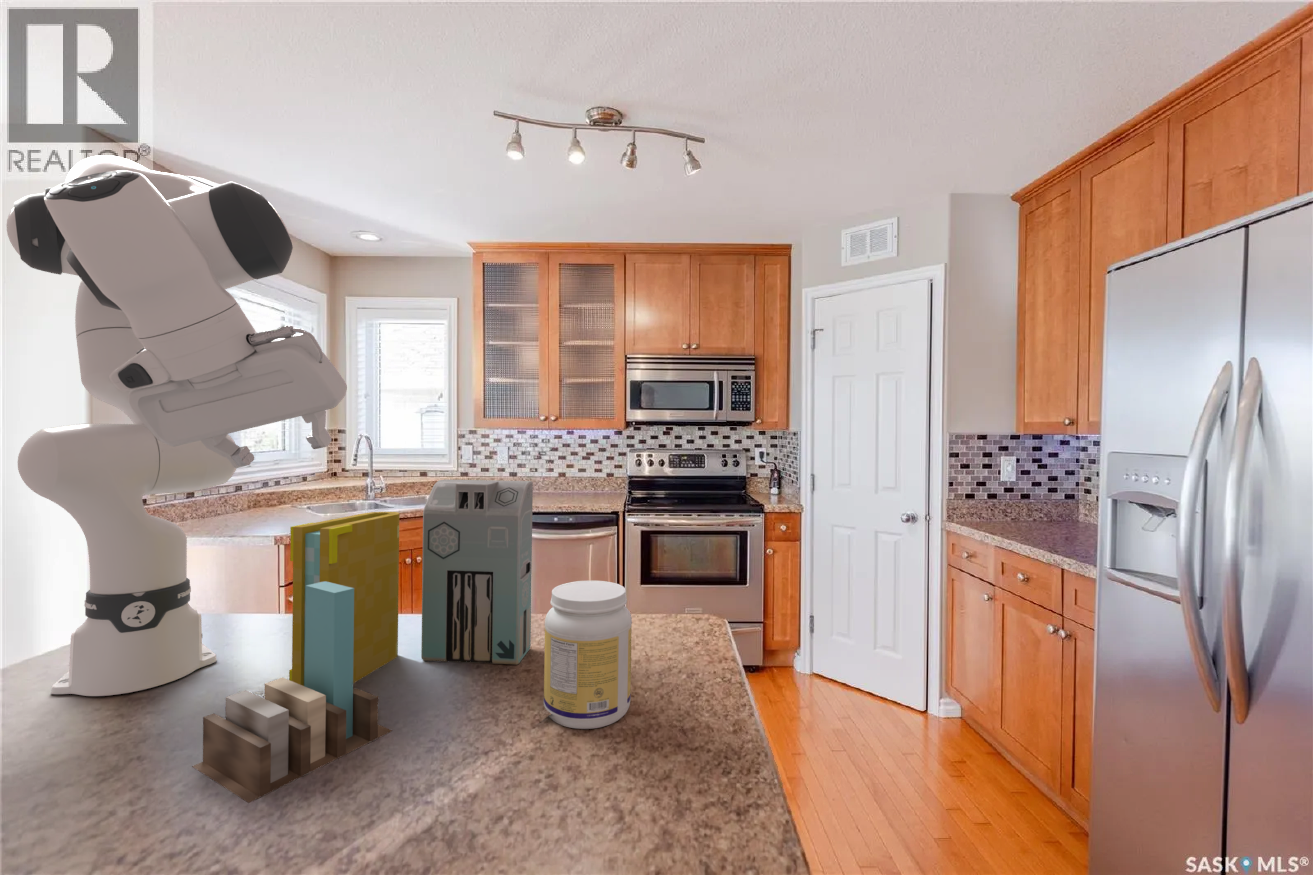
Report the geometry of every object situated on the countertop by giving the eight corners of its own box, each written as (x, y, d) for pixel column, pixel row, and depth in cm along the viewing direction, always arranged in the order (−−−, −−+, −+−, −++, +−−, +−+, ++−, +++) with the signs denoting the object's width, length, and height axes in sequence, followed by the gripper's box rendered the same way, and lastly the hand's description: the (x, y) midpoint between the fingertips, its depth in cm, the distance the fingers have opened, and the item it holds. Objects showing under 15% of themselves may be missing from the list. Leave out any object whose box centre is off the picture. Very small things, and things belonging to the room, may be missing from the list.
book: (330, 709, 78) (332, 529, 78) (288, 704, 80) (290, 526, 80) (407, 661, 95) (409, 512, 95) (371, 658, 96) (373, 510, 96)
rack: (191, 779, 62) (192, 720, 62) (335, 717, 76) (335, 669, 76) (248, 817, 57) (249, 752, 56) (392, 742, 70) (393, 690, 70)
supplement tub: (575, 683, 88) (577, 574, 88) (645, 701, 82) (647, 585, 82) (524, 719, 77) (526, 594, 77) (601, 742, 71) (603, 608, 71)
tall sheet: (304, 731, 70) (305, 585, 70) (323, 722, 72) (325, 581, 72) (332, 745, 67) (334, 592, 67) (352, 735, 69) (354, 588, 69)
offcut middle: (263, 742, 67) (264, 683, 67) (282, 734, 69) (282, 677, 69) (307, 765, 63) (307, 702, 63) (325, 756, 65) (325, 695, 65)
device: (420, 662, 95) (422, 483, 95) (441, 645, 103) (443, 479, 102) (517, 666, 94) (520, 485, 94) (530, 648, 102) (533, 481, 101)
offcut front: (225, 759, 64) (225, 697, 64) (245, 750, 66) (245, 690, 66) (267, 784, 59) (268, 717, 59) (288, 774, 61) (288, 709, 61)
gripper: (317, 310, 60) (379, 420, 67) (136, 355, 61) (218, 458, 68) (289, 332, 54) (360, 449, 62) (92, 382, 55) (185, 491, 63)
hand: (284, 454), depth 65 cm, fingers open, 8 cm apart
